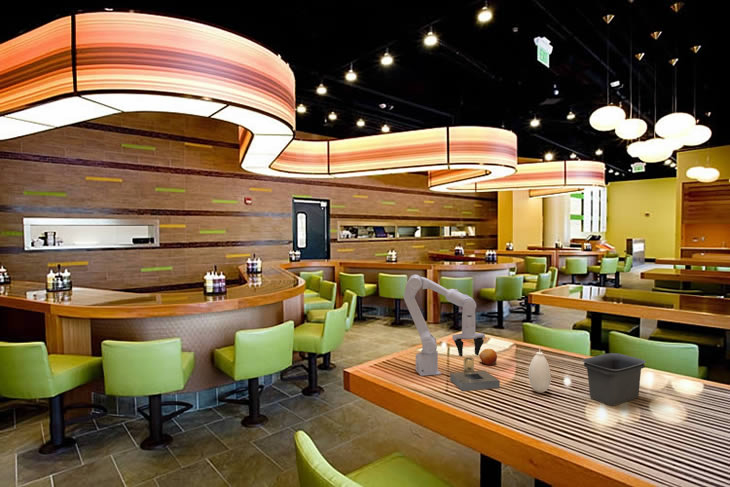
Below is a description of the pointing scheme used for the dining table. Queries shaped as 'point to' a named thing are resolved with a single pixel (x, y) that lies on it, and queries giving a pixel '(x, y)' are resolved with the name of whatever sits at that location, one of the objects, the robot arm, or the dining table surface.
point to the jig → (474, 380)
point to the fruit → (488, 356)
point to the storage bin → (614, 377)
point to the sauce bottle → (539, 373)
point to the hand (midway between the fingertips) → (468, 355)
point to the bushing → (468, 364)
